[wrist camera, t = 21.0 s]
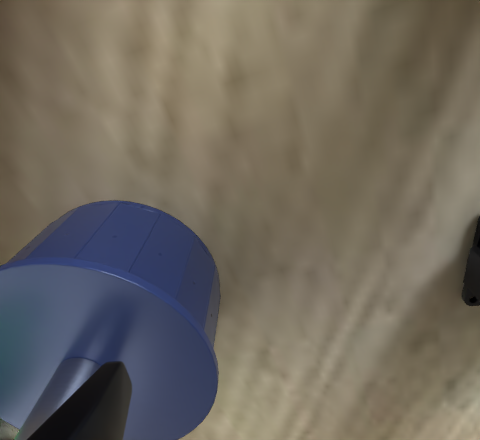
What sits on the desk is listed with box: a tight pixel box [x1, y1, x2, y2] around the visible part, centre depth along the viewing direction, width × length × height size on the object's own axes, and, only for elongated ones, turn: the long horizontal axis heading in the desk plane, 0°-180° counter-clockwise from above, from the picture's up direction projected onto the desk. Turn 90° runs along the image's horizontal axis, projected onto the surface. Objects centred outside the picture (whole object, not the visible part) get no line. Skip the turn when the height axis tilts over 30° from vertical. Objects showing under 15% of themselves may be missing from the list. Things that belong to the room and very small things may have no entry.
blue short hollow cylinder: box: [6, 201, 221, 348], centre depth 20 cm, size 12×12×6 cm
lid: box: [0, 257, 219, 440], centre depth 15 cm, size 13×13×6 cm
